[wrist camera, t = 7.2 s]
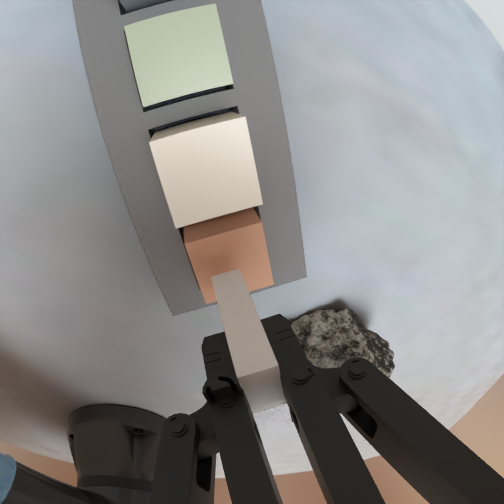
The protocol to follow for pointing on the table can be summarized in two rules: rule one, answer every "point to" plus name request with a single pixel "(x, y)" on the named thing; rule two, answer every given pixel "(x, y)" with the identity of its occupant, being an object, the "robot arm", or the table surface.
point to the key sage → (178, 54)
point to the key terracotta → (228, 250)
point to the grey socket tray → (144, 120)
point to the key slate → (138, 4)
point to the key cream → (206, 168)
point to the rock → (341, 340)
